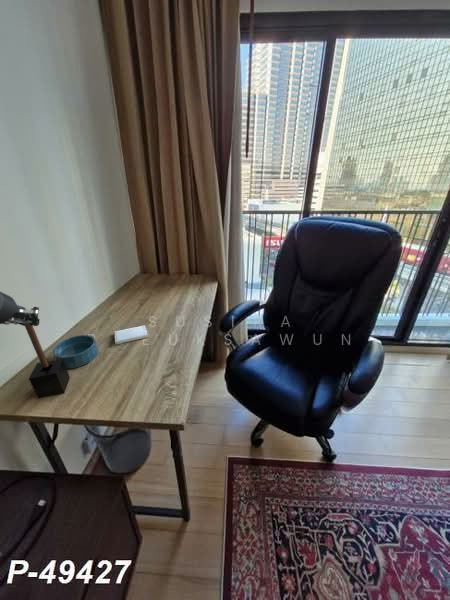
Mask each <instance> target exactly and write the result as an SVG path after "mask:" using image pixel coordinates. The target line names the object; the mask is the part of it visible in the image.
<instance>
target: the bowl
mask: <svg viewBox="0 0 450 600" xmlns="http://www.w3.org/2000/svg"><path fill="white" fill-rule="evenodd" d="M98 353H99V349H98V345H97V341H96V338H95V337H93V335H88V334H79V335H74V336H70V337H68V338H66V339H64V340H61V341H60V342H59V343H57V345H55V346H54V347H53V349H52V354H53V357H54V360H58V359H63V361H64V363H65V366H66V369H76V368H81V367H83V366H85V365H86V364H89V363H90V362H92V360H94V359H95V358H96V357H97V355H98Z"/></svg>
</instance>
